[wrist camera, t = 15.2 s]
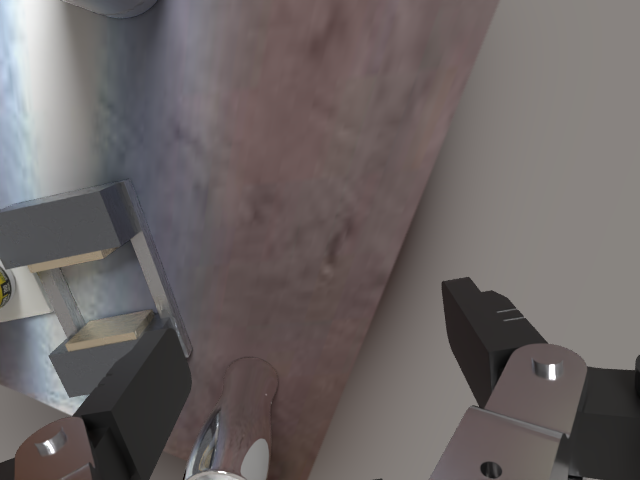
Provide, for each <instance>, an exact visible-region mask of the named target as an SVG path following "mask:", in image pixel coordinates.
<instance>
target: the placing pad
mask: <svg viewBox="0 0 640 480" xmlns="http://www.w3.org/2000/svg"><path fill="white" fill-rule="evenodd" d="M10 271H11V272H12V274H13V277H14V280H15V293H14V295H13V297H12V299H11V300H10V301H9V302H8V303H7V304H6V305H4V306H3V307H1V308H0V322H5V321H10V320H16V319H21V318H26V317H31V316H36V315H42V314H47V313H51V312H53V311H54V308H53V306H52V304H51V302H50V300H49V298H48V296H47V294H46V292H45V289H44V287H43V285H42V283H41V281H40V279H39V277H38V275H37V273H36V272H34V273H30V271H29V269H28V266H22V267H17V268H12V269H10Z"/></svg>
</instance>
